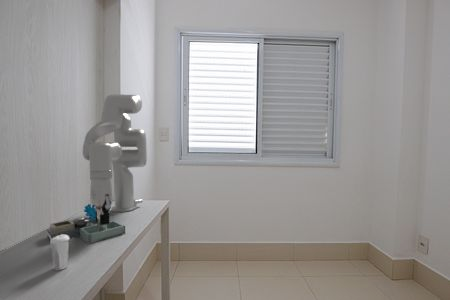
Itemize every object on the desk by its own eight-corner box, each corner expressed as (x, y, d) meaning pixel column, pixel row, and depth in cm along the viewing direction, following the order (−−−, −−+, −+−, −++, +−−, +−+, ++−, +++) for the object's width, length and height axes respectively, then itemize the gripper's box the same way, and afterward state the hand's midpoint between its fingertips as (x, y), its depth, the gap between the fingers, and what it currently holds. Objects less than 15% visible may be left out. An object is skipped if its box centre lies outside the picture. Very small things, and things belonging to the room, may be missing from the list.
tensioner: (88, 227, 103) (87, 214, 103) (94, 232, 97) (94, 218, 97) (47, 237, 93) (46, 222, 93) (52, 242, 87) (52, 227, 87)
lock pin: (106, 227, 98) (105, 202, 97) (110, 230, 95) (110, 204, 94) (94, 230, 94) (93, 204, 94) (98, 233, 91) (97, 206, 91)
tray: (114, 227, 103) (114, 220, 102) (125, 233, 96) (125, 225, 96) (79, 236, 93) (79, 228, 93) (89, 243, 86) (88, 235, 86)
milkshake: (54, 264, 72) (53, 230, 71) (73, 263, 72) (72, 229, 72) (44, 272, 67) (42, 236, 67) (64, 271, 68) (63, 235, 67)
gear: (94, 221, 105) (81, 204, 108) (85, 231, 106) (72, 213, 108) (111, 217, 116) (99, 201, 118) (103, 226, 117) (91, 210, 119)
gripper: (83, 174, 97) (84, 220, 97) (98, 178, 85) (100, 230, 86) (103, 172, 102) (104, 216, 103) (120, 176, 91) (121, 225, 91)
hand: (102, 222), depth 94 cm, fingers closed on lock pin, 3 cm apart
